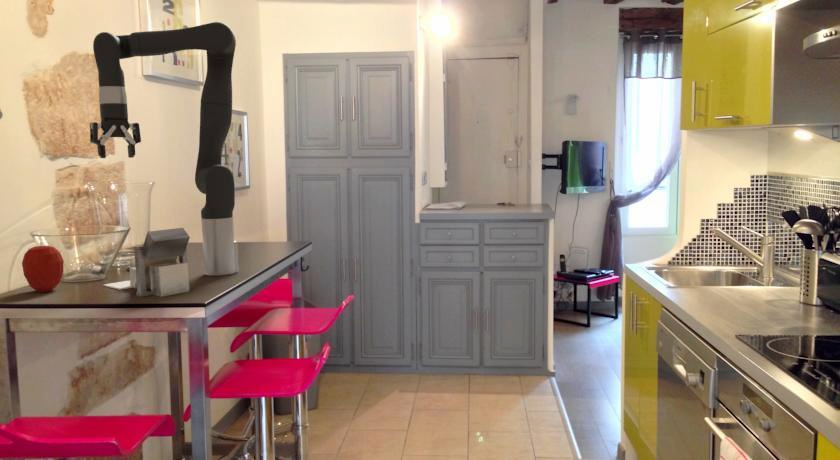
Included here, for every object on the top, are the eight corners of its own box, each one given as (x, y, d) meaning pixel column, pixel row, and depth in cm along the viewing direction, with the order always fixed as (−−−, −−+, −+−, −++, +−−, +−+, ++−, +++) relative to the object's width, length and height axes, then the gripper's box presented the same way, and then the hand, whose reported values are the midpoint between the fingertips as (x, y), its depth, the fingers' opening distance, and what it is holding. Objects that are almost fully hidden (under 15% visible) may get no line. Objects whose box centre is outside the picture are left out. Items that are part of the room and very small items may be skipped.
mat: (143, 279, 208) (143, 278, 208) (160, 283, 201) (160, 281, 201) (103, 285, 199) (103, 284, 199) (119, 289, 193) (119, 288, 193)
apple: (74, 288, 197) (70, 239, 195) (43, 295, 188) (39, 243, 186) (46, 286, 201) (42, 238, 199) (15, 293, 191) (10, 243, 190)
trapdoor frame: (199, 289, 190) (196, 242, 188) (150, 298, 179) (146, 248, 178) (184, 286, 195) (181, 240, 193) (136, 295, 184) (132, 246, 183)
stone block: (158, 269, 195) (146, 265, 199) (141, 272, 191) (129, 267, 195) (159, 286, 195) (147, 282, 200) (142, 289, 192) (130, 285, 196)
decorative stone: (130, 273, 221) (129, 263, 220) (129, 266, 235) (129, 256, 234) (150, 272, 223) (150, 261, 223) (149, 265, 237) (148, 255, 237)
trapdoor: (190, 237, 187) (183, 227, 188) (153, 241, 179) (146, 231, 181) (173, 288, 195) (167, 278, 197) (137, 294, 188) (130, 284, 189)
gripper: (94, 101, 200) (99, 158, 201) (142, 102, 210) (146, 157, 212) (83, 102, 205) (87, 158, 206) (130, 104, 215) (134, 157, 217)
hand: (117, 157), depth 209 cm, fingers open, 8 cm apart
